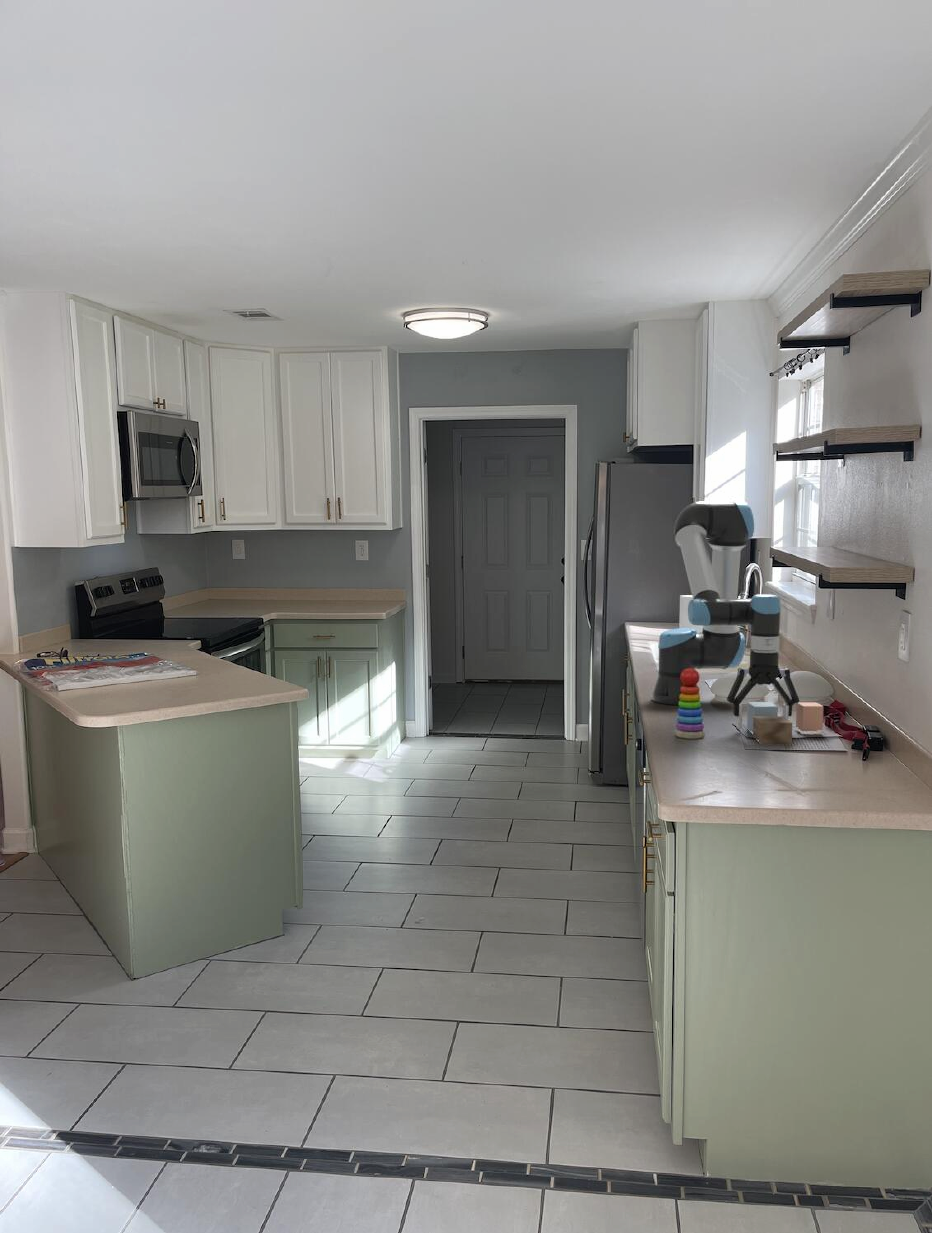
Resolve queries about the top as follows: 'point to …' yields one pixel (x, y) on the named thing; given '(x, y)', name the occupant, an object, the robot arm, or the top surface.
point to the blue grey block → (760, 711)
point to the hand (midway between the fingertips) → (762, 727)
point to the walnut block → (772, 730)
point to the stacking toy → (689, 707)
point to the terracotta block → (809, 716)
